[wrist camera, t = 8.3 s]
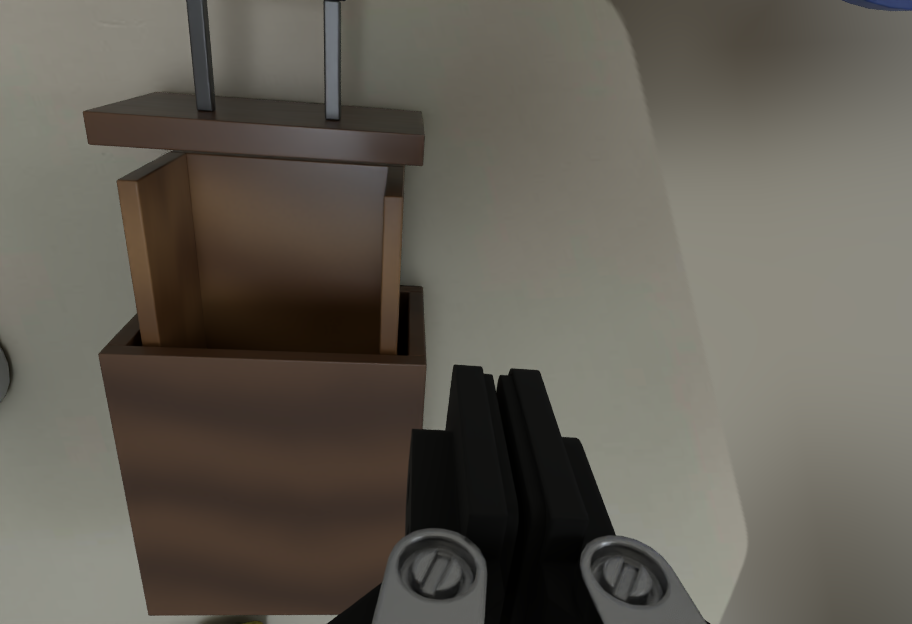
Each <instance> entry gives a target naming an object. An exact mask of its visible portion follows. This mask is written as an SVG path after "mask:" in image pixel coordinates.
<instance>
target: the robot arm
mask: <svg viewBox="0 0 912 624" xmlns="http://www.w3.org/2000/svg"><path fill="white" fill-rule="evenodd" d="M327 624H710V623H709V622H707V621H706V620H704V618H703V617H702V615H701V614H700V612H699V610H698V609H697V607H696V606H695V604H694V602H693V601H692V599H691V598H690V596H689V594H688V593H687V591H686V590H685V588H684V586H683V585H682V583H681V582H680V580H679V578H678V577H677V575H676V574H675V572H674V570H673V569H672V567H671V566H670V565H669V564H668V563H667V561H666V560H665V559H664V558H663V557H662V556H661V555H660V554H659V553H657V552H656V551H655V550H654V549H652V548H651V547H649V546H647V545H646V544H644V543H642V542H640V541H638V540H635V539H631V538H628V537H624V536H616V535H615V532H614V529H613V526H612V524H611V521H610V518H609V516H608V513H607V510H606V508H605V505H604V502H603V500H602V497H601V494H600V492H599V489H598V486H597V484H596V481H595V478H594V476H593V473H592V470H591V468H590V465H589V462H588V460H587V457H586V454H585V452H584V449H583V446H582V444H581V442H580V440H579V439H577V438H569V437H561V434H560V431H559V428H558V425H557V422H556V419H555V416H554V413H553V410H552V407H551V404H550V401H549V398H548V395H547V392H546V389H545V386H544V383H543V380H542V377H541V374H540V372H539V371H538V370H527V369H512V368H511V369H510V371H509V374H508V375H500V376H499V379H498V384H497V390H495V385H494V380H493V375H492V374H484V373H483V368H482V367H481V366H466V365H454V367H453V372H452V380H451V388H450V397H449V405H448V413H447V421H446V430H445V431H444V430H426V429H412V433H411V443H410V453H409V465H408V478H407V494H406V521H405V536H404V537H403V538H402V539H401V540H400V541H399V542H398V543H397V544H396V545H395V546H394V547H393V549H392V551H391V553H390V555H389V557H388V561H387V565H386V569H385V573H384V577H383V581H382V583H380V584H379V585H378V586H376V587H375V588H374V589H372V590H371V591H370V592H368V593H367V594H366V595H364V596H363V597H362V598H360V599H359V600H358V601H356V602H355V603H354V604H352V605H351V606H350V607H349V608H347V609H346V610H345V611H343V612H342V613H341V614H339V615H338V616H337V617H335V618H334V619H333V620H331V621H330V622H329V623H327Z"/></svg>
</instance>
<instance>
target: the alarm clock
mask: <svg viewBox="0 0 912 624" xmlns="http://www.w3.org/2000/svg"><path fill="white" fill-rule="evenodd" d="M242 624H263V623H262V622H259V621H251V622H246V623H242Z"/></svg>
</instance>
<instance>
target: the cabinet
mask: <svg viewBox="0 0 912 624" xmlns="http://www.w3.org/2000/svg"><path fill="white" fill-rule="evenodd" d="M98 355H99V361H100V366H101V371H102V376H103V381H104V387H105V392H106V397H107V402H108V407H109V412H110V418H111V423H112V428H113V433H114V438H115V444H116V449H117V454H118V459H119V464H120V470H121V475H122V480H123V485H124V490H125V496H126V501H127V506H128V511H129V516H130V522H131V527H132V532H133V537H134V542H135V547H136V553H137V558H138V563H139V568H140V573H141V579H142V584H143V589H144V594H145V599H146V605H147V610H148V615H149V616H155V615H339V614H341V613H342V612H343V611H345V610H346V609H347V608H349V607H350V606H351V605H352V604H354V603H355V602H356V601H358V600H359V599H360V598H362V597H363V596H364V595H366V594H367V593H368V592H370V591H371V590H372V589H374V588H375V587H376V586H378V585H379V584H380V583H382V581H383V577H384V573H385V569H386V565H387V561H388V557H389V555H390V553H391V551H392V549H393V547H394V546H395V545H396V544H397V543H398V542H399V541H400V540H401V539H402V538H403V537H404V536H405V521H406V494H407V478H408V465H409V453H410V443H411V433H412V429H422V426H423V411H424V396H425V381H426V366H427V365H426V345H425V324H424V302H423V287H415V286H400V295H399V318H398V341H397V355H372V354H343V353H315V352H287V351H258V350H230V349H202V348H174V347H145V346H142V340H141V333H140V327H139V321H138V314H136V315H135V316H134V317H133V318H132V319H131V320H130V321H129V322H128V323H127V324H126V325H125V326H124V327H123V328H122V329H121V330H120V331H119V333H118V334H117V335H116V336H115V337H114V338H113V339H112V340H111V341H110V342H109V343H108V344H107V345H106V346H105V347H104V348H103V349H102V350H101V352H100V353H99V354H98Z"/></svg>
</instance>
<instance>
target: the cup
mask: <svg viewBox="0 0 912 624" xmlns="http://www.w3.org/2000/svg"><path fill="white" fill-rule="evenodd" d="M9 382H10V379H9V367H8V362H7V360H6V357H5V355H4V352H3V350H2V349H1V347H0V402H1V400H2V399H3V398H4V396H5V395H6V393H7V390H8V386H9Z"/></svg>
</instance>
